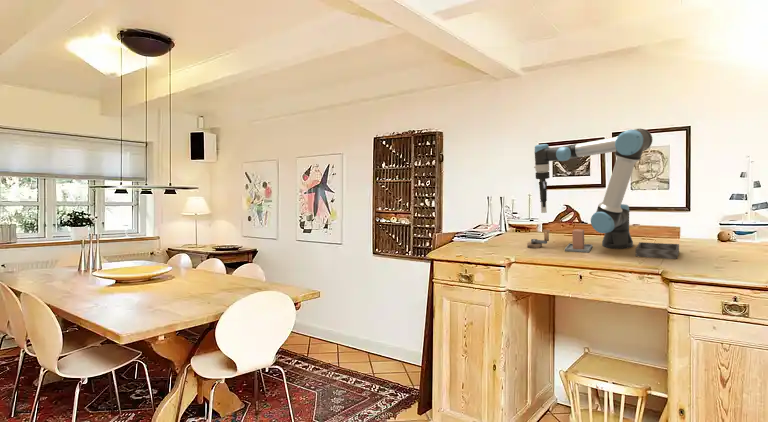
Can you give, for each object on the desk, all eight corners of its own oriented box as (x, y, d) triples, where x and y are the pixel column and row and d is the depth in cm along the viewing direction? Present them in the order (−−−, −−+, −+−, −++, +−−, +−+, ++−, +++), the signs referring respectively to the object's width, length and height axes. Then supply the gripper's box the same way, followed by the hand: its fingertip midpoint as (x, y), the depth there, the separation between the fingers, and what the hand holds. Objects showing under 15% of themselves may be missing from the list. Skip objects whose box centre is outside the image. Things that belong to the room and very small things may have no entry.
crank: (530, 243, 274) (529, 230, 273) (532, 241, 277) (531, 228, 276) (548, 244, 268) (548, 230, 267) (550, 242, 271) (550, 229, 270)
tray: (592, 247, 263) (592, 244, 263) (588, 252, 253) (588, 249, 253) (569, 246, 270) (569, 243, 270) (564, 251, 260) (564, 248, 260)
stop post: (584, 247, 262) (584, 229, 261) (582, 249, 258) (582, 231, 256) (574, 246, 265) (574, 229, 263) (572, 249, 261) (572, 231, 259)
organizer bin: (679, 252, 240) (679, 244, 240) (677, 259, 229) (677, 250, 229) (639, 249, 250) (639, 242, 250) (635, 256, 239) (635, 248, 239)
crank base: (525, 247, 274) (525, 244, 274) (529, 244, 280) (529, 241, 280) (539, 248, 270) (539, 245, 269) (543, 245, 276) (543, 241, 276)
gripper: (534, 171, 280) (535, 210, 284) (537, 173, 268) (538, 214, 271) (547, 170, 279) (548, 210, 283) (551, 172, 266) (552, 214, 270)
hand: (543, 212), depth 277 cm, fingers closed
